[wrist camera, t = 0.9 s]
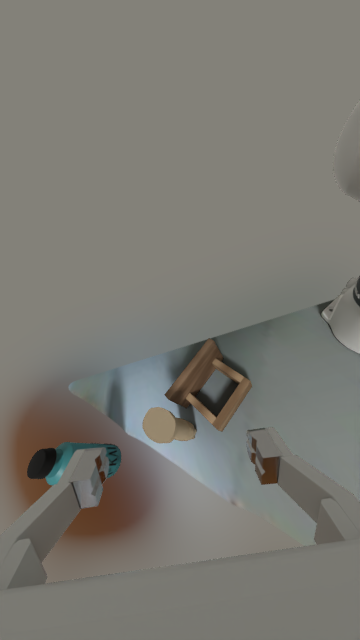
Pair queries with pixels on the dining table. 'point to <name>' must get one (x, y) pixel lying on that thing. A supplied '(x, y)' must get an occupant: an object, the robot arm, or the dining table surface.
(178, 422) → the handle
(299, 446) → the dining table surface
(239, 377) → the wooden drawer
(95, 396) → the dining table surface
